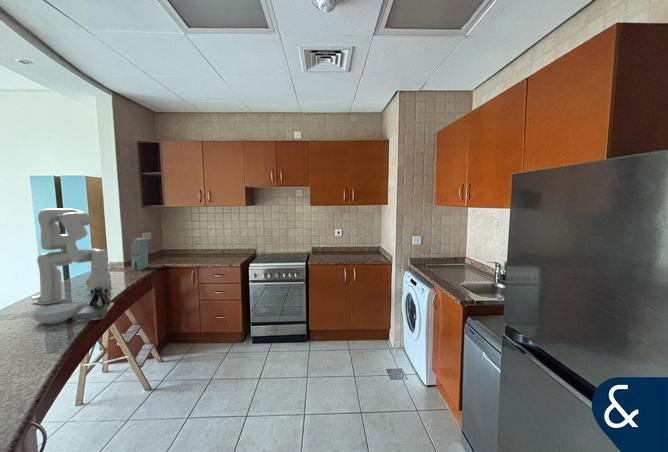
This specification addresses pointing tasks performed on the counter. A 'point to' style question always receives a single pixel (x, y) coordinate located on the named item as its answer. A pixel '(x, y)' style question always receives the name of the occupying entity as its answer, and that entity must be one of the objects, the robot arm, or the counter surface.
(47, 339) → the counter surface
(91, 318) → the board
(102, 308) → the housing
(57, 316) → the cereal bowl
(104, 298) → the door stopper
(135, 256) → the device
